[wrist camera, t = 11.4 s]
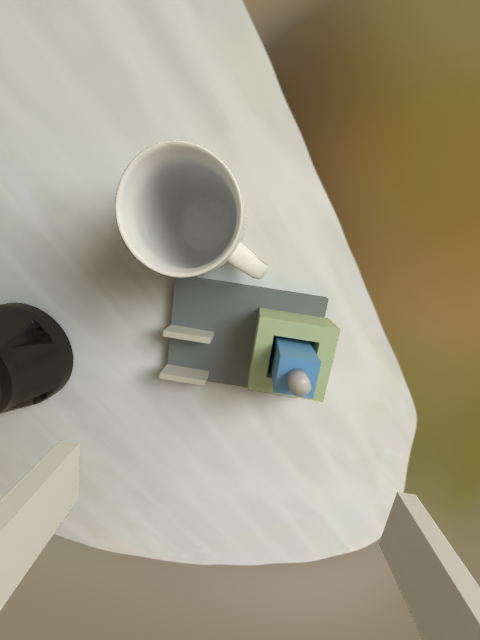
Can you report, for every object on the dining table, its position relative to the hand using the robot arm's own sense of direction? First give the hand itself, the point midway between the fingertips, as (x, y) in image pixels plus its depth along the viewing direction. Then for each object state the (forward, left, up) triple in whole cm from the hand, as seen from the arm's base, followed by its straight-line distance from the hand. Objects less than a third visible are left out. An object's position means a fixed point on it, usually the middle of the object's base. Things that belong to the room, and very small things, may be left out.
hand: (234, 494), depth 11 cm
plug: (+5, -1, -26) cm, 27 cm away
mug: (-7, +12, -28) cm, 31 cm away
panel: (-1, -1, -28) cm, 28 cm away
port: (+5, -1, -26) cm, 27 cm away
